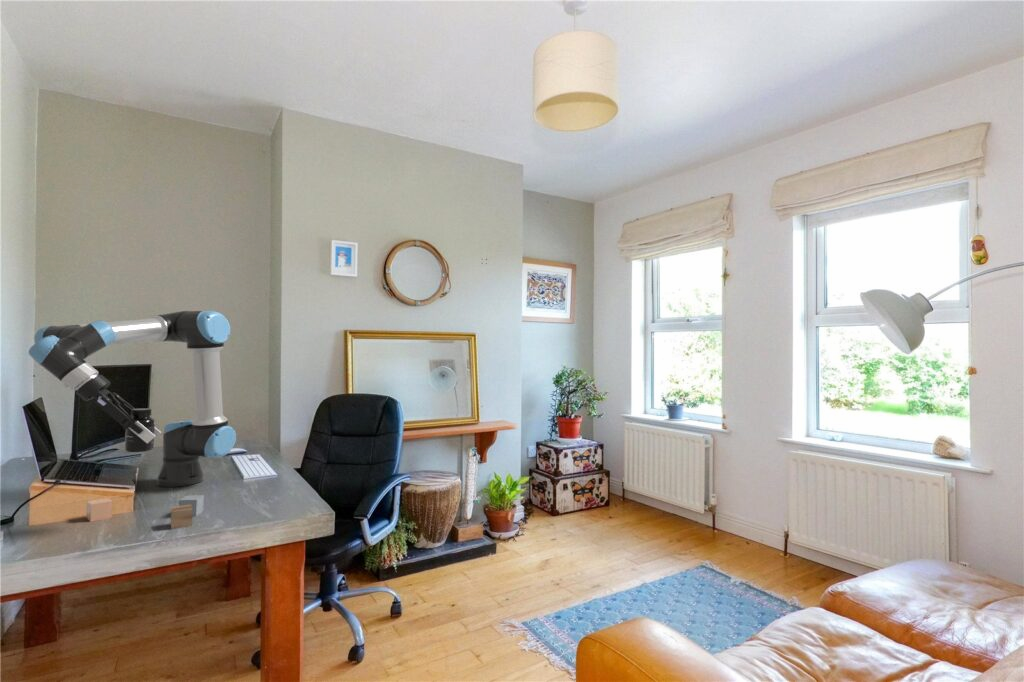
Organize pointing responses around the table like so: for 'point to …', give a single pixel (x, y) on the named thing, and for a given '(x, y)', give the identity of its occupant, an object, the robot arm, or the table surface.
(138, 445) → the supplement bottle
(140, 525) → the table surface
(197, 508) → the slate grey cube
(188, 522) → the walnut cube
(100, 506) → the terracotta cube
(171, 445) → the robot arm
